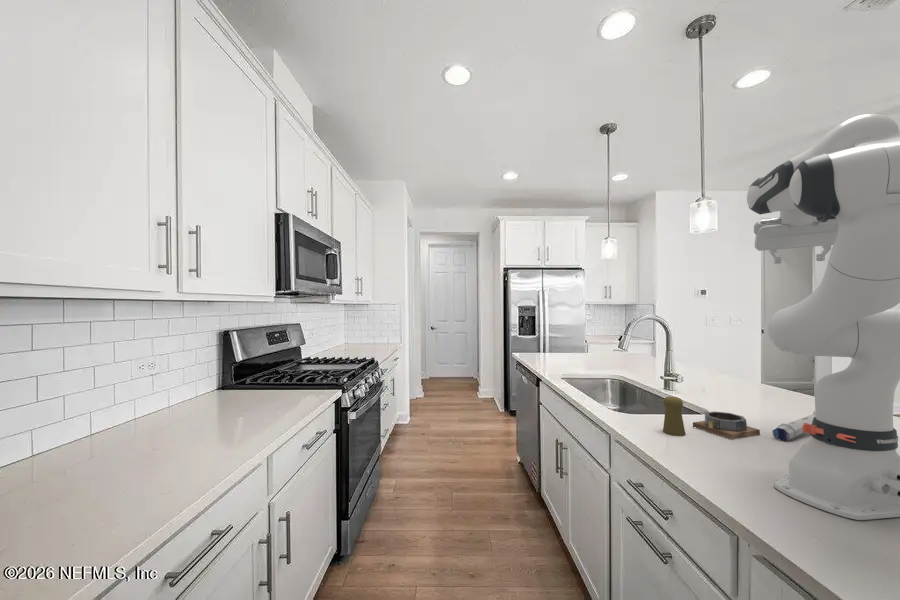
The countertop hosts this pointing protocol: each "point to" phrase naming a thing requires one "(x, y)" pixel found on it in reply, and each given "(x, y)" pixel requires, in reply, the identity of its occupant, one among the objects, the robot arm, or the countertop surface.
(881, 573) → the countertop surface
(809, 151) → the robot arm
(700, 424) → the base plate
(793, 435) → the grey and blue bar
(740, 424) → the collar
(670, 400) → the cork
